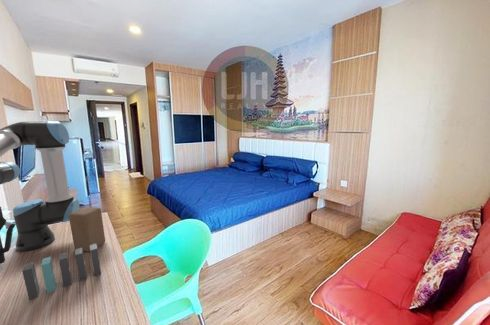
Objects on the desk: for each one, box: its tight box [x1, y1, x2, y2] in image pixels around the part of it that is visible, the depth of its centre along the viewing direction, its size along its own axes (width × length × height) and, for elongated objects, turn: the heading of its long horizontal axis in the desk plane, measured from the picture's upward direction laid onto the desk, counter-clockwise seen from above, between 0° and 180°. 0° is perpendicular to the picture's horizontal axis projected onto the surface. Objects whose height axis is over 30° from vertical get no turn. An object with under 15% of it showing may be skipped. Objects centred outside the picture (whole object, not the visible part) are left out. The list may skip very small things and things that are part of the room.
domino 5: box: [90, 244, 102, 277], centre depth 94 cm, size 5×2×12 cm, turn 38°
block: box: [69, 206, 106, 253], centre depth 112 cm, size 10×10×20 cm
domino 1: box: [22, 261, 40, 301], centre depth 82 cm, size 5×2×12 cm, turn 38°
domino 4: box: [74, 248, 88, 282], centre depth 91 cm, size 5×2×12 cm, turn 38°
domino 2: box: [40, 256, 57, 294], centre depth 85 cm, size 5×2×12 cm, turn 38°
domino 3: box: [58, 251, 73, 288], centre depth 88 cm, size 5×2×12 cm, turn 38°
